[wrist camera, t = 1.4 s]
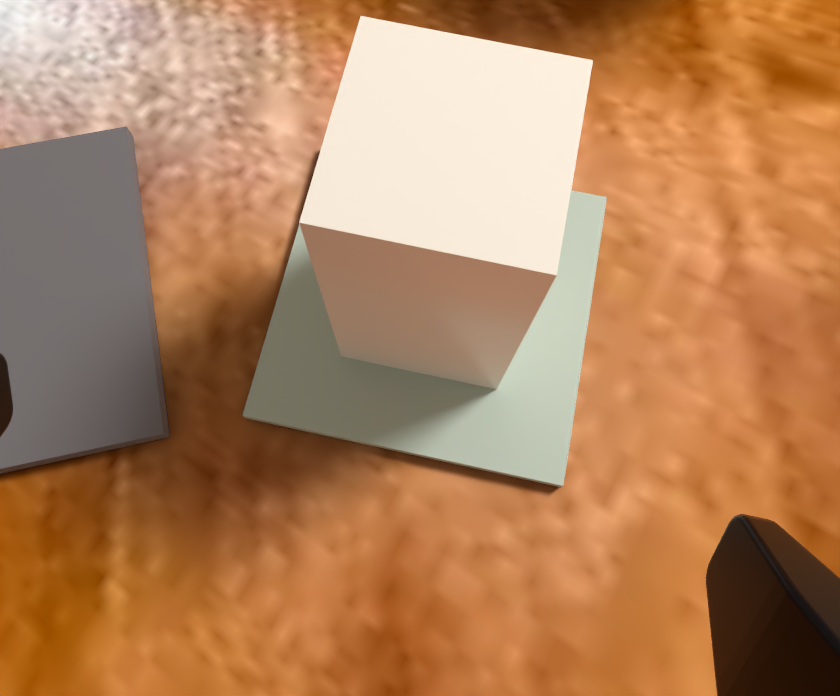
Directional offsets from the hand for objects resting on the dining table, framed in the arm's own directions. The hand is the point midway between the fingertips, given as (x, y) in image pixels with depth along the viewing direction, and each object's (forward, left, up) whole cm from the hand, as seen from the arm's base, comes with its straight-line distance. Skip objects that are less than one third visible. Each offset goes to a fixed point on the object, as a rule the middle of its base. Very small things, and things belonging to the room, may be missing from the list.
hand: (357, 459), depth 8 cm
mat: (+9, +11, -13) cm, 19 cm away
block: (+6, -3, -12) cm, 14 cm away
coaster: (+6, -3, -13) cm, 15 cm away
